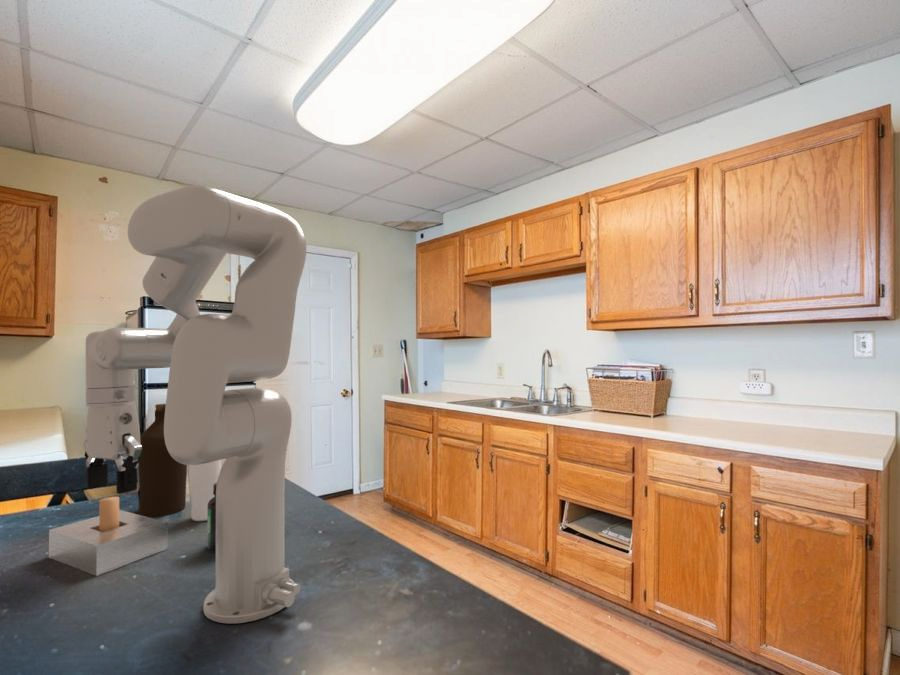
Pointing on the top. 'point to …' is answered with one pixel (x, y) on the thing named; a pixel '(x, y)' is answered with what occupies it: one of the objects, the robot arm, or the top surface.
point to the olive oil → (159, 473)
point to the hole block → (107, 542)
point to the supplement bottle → (211, 522)
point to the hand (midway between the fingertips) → (111, 489)
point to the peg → (108, 514)
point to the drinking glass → (202, 487)
